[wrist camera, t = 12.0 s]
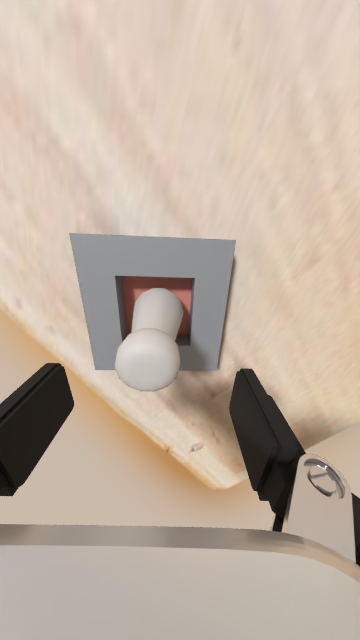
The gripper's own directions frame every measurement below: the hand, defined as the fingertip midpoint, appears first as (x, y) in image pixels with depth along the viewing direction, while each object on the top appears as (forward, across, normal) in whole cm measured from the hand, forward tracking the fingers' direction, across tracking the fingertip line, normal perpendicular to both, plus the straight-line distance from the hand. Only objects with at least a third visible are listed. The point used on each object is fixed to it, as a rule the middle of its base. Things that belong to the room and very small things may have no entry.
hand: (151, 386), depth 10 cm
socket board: (+14, +1, 0) cm, 14 cm away
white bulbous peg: (+14, +1, 0) cm, 14 cm away
